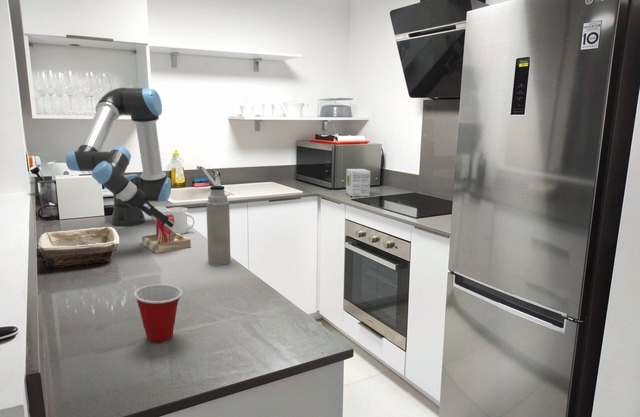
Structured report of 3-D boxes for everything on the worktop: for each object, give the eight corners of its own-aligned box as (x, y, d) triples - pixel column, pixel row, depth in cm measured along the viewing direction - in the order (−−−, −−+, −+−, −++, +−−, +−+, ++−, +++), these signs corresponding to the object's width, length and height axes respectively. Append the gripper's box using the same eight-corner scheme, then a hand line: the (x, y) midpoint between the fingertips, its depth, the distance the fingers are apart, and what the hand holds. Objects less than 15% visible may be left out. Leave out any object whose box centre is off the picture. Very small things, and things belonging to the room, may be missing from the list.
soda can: (158, 240, 189) (158, 211, 187) (176, 240, 190) (175, 212, 188) (154, 244, 182) (153, 215, 180) (172, 244, 183) (172, 215, 181)
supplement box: (345, 194, 315) (346, 168, 311) (363, 193, 318) (364, 168, 314) (351, 197, 302) (351, 171, 299) (369, 196, 305) (371, 170, 302)
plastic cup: (178, 348, 106) (176, 299, 104) (130, 349, 105) (127, 300, 103) (188, 326, 117) (186, 282, 114) (144, 327, 116) (142, 282, 113)
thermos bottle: (215, 257, 173) (213, 184, 167) (234, 259, 170) (233, 185, 165) (203, 263, 165) (201, 187, 160) (223, 266, 163) (221, 188, 157)
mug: (191, 235, 203) (190, 211, 200) (164, 234, 203) (163, 211, 201) (197, 230, 211) (196, 207, 209) (171, 229, 211) (170, 207, 209)
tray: (142, 243, 188) (141, 236, 187) (175, 238, 197) (174, 231, 196) (156, 253, 176) (155, 245, 175) (190, 247, 185) (190, 239, 184)
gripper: (114, 197, 182) (153, 228, 195) (134, 207, 163) (176, 241, 176) (127, 182, 184) (165, 214, 197) (148, 191, 166) (189, 226, 178)
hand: (171, 227), depth 186 cm, fingers open, 13 cm apart
